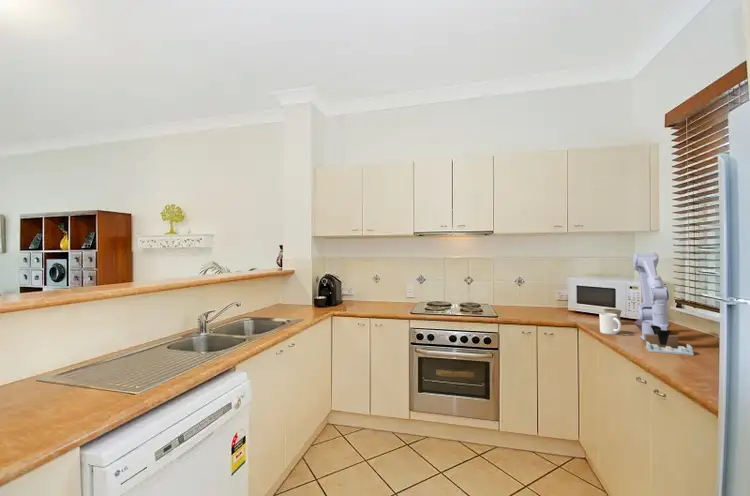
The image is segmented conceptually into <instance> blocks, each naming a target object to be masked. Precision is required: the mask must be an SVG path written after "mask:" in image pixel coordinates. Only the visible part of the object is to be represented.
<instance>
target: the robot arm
mask: <svg viewBox="0 0 750 496" xmlns="http://www.w3.org/2000/svg"><path fill="white" fill-rule="evenodd" d="M658 263H659V254H658V253H657V252H645V253H643V252H641V253H640V252H639V253H637V252H635V253H634V254H633V255H632V265H633V268H634V270H635V271H637V273H638V275H639V281H640V288H641V289H640V290H641V297H642V302H641V303H639V304H638V305H637V318H638V319H639V320H640V321H642V331H641V335H639V337H640V338H641V340H643V341H644V334H657V335H658V338H659V342H660V345H666V344H667V340H668V337H669V335H671V333H672V330H670V329H667V327H668V326H669V324H670V323H669V313H668V312H669V310H668V301H669V300H670V291H669V289H668V288H667V286H665V285H664V282H663V280H662V279H663V278H662V277H661V276H659V275H658V272H657V266H658ZM638 319H637V320H638ZM668 323H669V324H668Z"/></svg>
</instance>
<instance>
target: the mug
mask: <svg viewBox="0 0 750 496" xmlns="http://www.w3.org/2000/svg"><path fill="white" fill-rule="evenodd" d="M598 315H599V318H598V319H599V332H600V333H601V334H603V335H611V336H612V335H613V336H614V335H617V334H618V333H619V332H620V331H621V329H622V322H621V320H620V321H619V320H618V319H617V314H612V313H605V312H601V313H600V312H599V314H598Z"/></svg>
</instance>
